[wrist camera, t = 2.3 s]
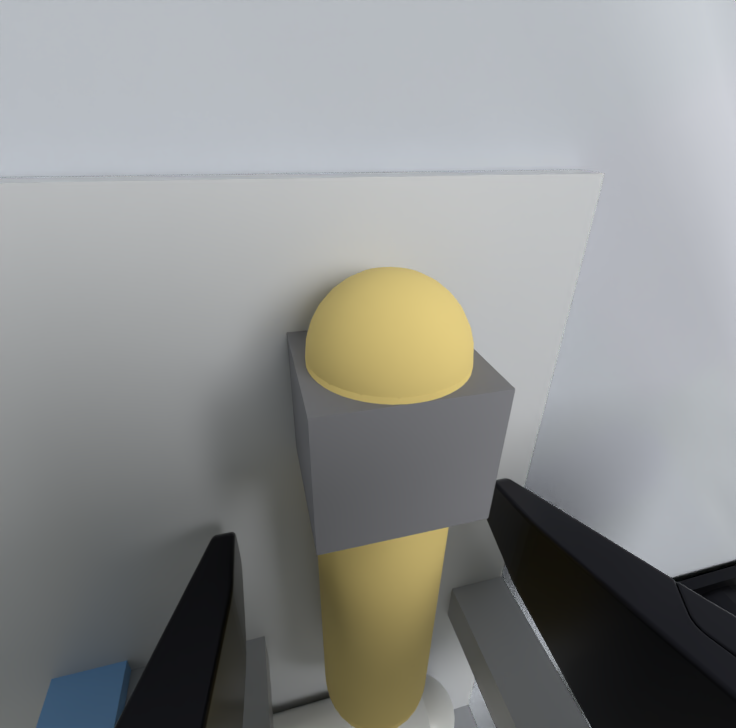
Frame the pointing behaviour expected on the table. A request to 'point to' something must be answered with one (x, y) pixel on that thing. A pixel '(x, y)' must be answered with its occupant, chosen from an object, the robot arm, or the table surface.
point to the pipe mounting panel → (244, 421)
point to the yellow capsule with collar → (390, 473)
